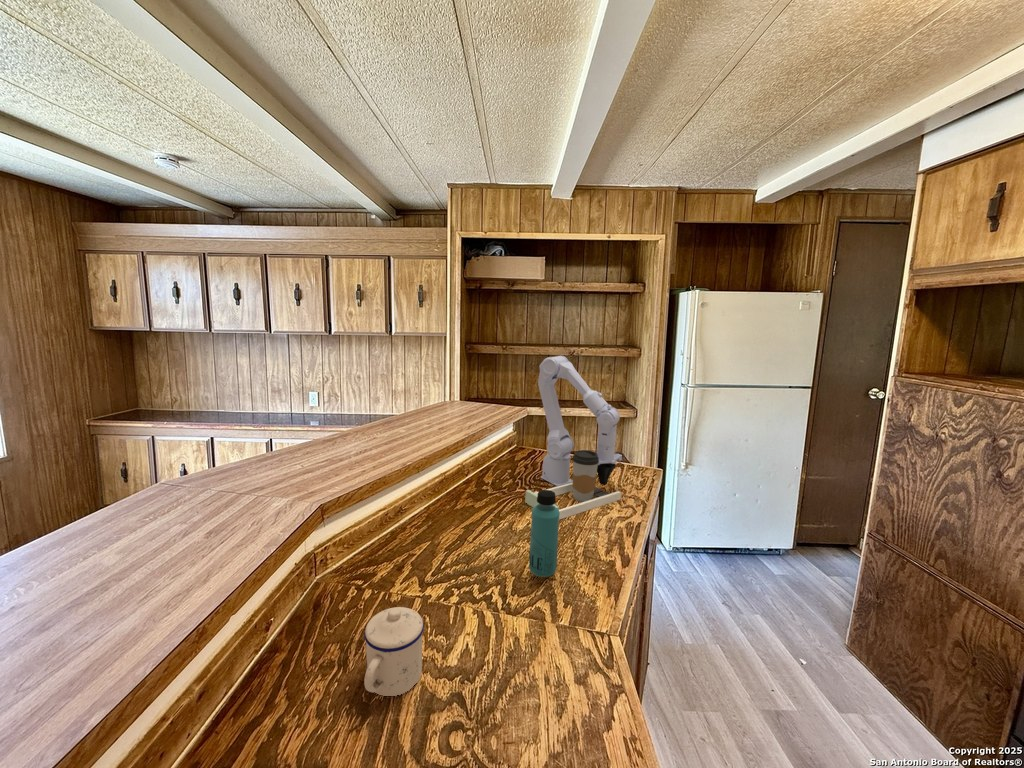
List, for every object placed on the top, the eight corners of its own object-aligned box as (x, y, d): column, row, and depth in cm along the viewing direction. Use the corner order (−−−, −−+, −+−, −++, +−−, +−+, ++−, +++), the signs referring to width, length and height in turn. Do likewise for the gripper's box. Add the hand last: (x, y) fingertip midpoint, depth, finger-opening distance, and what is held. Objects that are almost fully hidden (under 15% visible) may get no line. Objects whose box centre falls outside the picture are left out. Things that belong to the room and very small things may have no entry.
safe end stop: (525, 502, 137) (525, 490, 136) (528, 501, 138) (528, 489, 137) (555, 521, 126) (555, 507, 125) (558, 520, 126) (559, 506, 126)
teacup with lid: (385, 648, 77) (385, 587, 75) (433, 661, 74) (433, 599, 72) (340, 706, 65) (338, 636, 63) (394, 724, 63) (394, 652, 61)
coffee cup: (594, 494, 146) (598, 450, 143) (596, 505, 137) (600, 459, 135) (569, 492, 146) (572, 448, 144) (570, 502, 138) (573, 457, 136)
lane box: (525, 502, 137) (525, 495, 136) (588, 484, 153) (589, 477, 153) (555, 520, 126) (555, 512, 125) (620, 499, 142) (620, 492, 142)
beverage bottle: (559, 570, 102) (564, 489, 98) (552, 587, 96) (557, 500, 92) (532, 564, 104) (536, 484, 101) (523, 580, 98) (528, 495, 94)
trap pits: (581, 489, 149) (581, 488, 149) (592, 486, 152) (592, 485, 152) (606, 501, 140) (606, 500, 140) (616, 497, 143) (616, 496, 143)
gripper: (600, 451, 137) (596, 492, 139) (630, 445, 146) (626, 483, 148) (583, 445, 143) (580, 485, 145) (613, 439, 151) (610, 476, 153)
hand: (603, 484), depth 147 cm, fingers closed
